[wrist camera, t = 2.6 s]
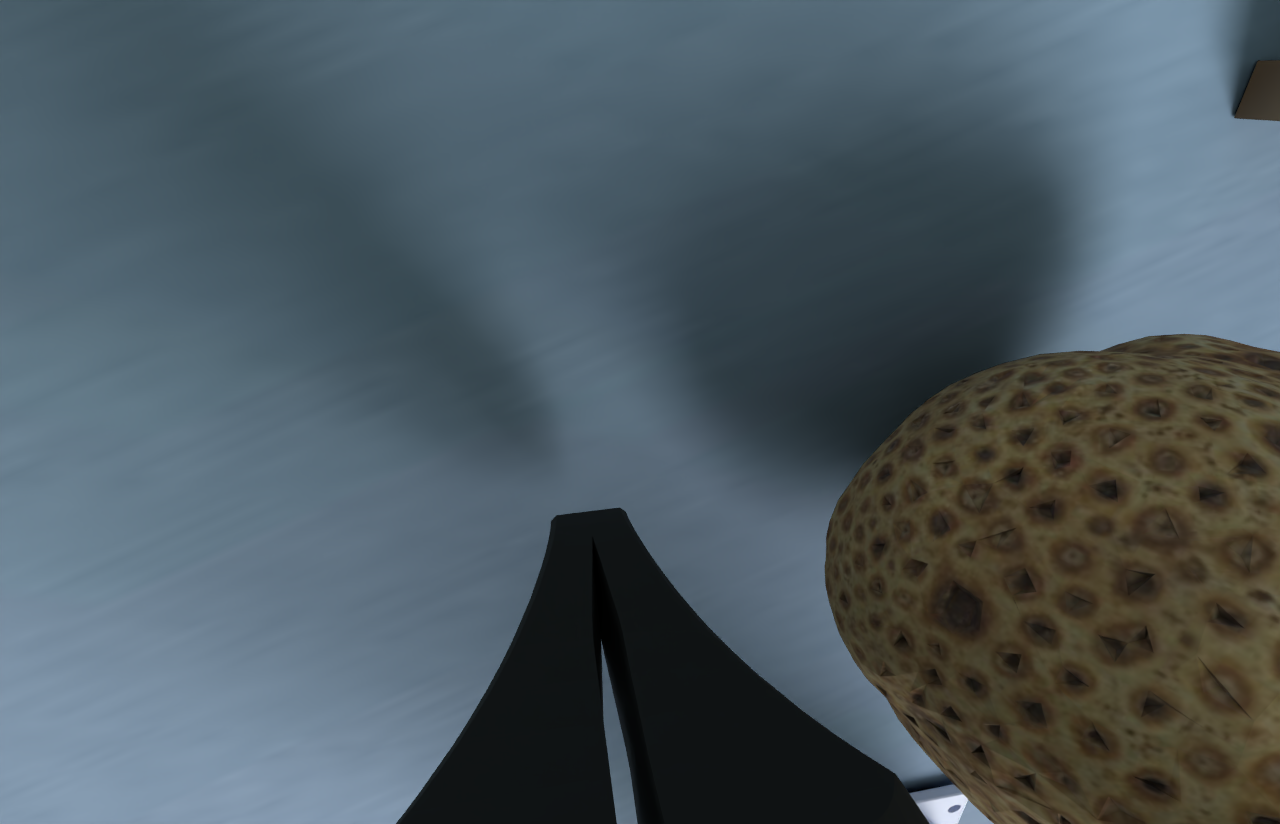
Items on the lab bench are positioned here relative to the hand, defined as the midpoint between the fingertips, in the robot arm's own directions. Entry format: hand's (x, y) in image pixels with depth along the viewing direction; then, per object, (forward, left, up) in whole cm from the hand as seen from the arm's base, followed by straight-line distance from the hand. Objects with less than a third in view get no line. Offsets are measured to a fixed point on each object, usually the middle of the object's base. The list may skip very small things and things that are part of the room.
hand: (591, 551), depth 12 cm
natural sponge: (0, -9, -3) cm, 9 cm away
